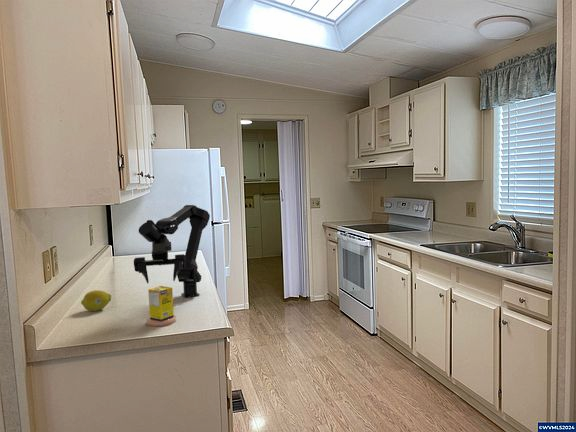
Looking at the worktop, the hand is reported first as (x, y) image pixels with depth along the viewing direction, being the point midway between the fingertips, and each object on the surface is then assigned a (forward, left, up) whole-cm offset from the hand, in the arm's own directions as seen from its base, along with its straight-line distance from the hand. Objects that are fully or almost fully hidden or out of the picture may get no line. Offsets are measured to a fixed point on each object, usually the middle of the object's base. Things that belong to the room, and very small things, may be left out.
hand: (161, 281), depth 155 cm
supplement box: (+5, -1, -12) cm, 13 cm away
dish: (+5, -2, -13) cm, 14 cm away
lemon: (-24, -20, -13) cm, 34 cm away
